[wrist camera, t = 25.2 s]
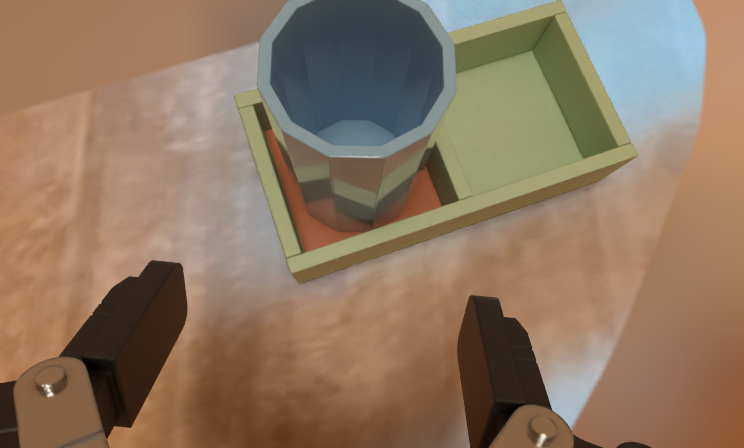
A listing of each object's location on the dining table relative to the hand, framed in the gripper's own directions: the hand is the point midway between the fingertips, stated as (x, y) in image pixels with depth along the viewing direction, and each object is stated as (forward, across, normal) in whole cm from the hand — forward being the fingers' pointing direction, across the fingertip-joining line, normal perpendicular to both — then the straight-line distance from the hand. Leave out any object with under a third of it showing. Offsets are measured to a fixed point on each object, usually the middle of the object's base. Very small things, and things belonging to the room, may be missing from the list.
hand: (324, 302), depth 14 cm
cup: (+12, 0, +2) cm, 12 cm away
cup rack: (+13, -4, +1) cm, 14 cm away
